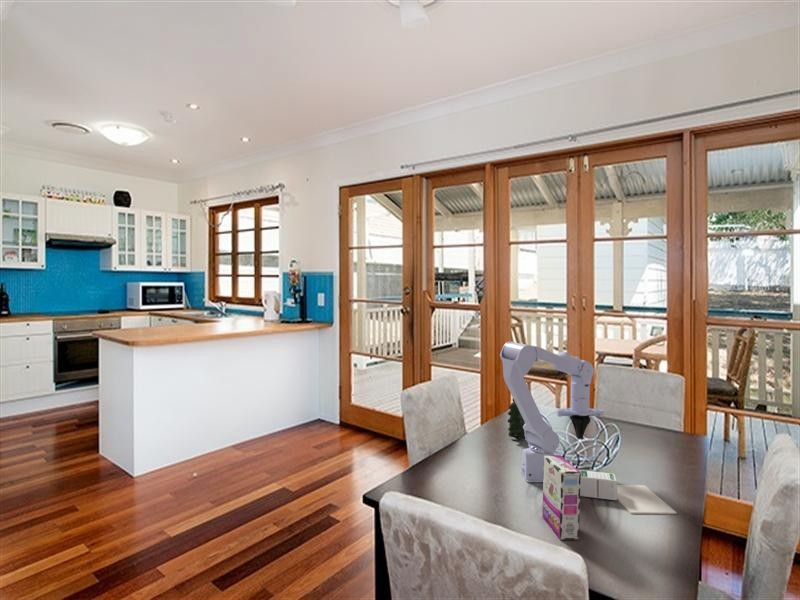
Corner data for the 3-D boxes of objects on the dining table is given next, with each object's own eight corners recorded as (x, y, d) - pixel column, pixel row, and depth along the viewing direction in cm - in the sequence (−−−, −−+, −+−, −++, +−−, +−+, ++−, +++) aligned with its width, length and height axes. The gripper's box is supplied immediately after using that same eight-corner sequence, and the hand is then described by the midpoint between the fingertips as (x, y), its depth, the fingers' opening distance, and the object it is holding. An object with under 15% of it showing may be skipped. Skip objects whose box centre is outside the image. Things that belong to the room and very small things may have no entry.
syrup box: (617, 480, 125) (561, 473, 130) (617, 501, 125) (561, 493, 130) (615, 472, 130) (561, 466, 135) (615, 492, 131) (561, 485, 135)
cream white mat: (630, 513, 119) (630, 512, 119) (604, 486, 135) (604, 484, 135) (676, 514, 119) (676, 512, 119) (644, 486, 135) (644, 485, 135)
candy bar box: (580, 540, 107) (582, 472, 106) (560, 541, 106) (561, 472, 106) (560, 515, 118) (561, 454, 117) (541, 516, 118) (542, 454, 117)
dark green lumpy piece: (526, 449, 169) (539, 424, 191) (525, 400, 167) (539, 381, 189) (501, 444, 174) (517, 421, 196) (500, 397, 172) (516, 379, 193)
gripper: (561, 399, 142) (561, 442, 143) (608, 399, 142) (607, 442, 143) (554, 394, 149) (554, 434, 150) (598, 394, 149) (597, 434, 150)
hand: (579, 437), depth 147 cm, fingers closed
